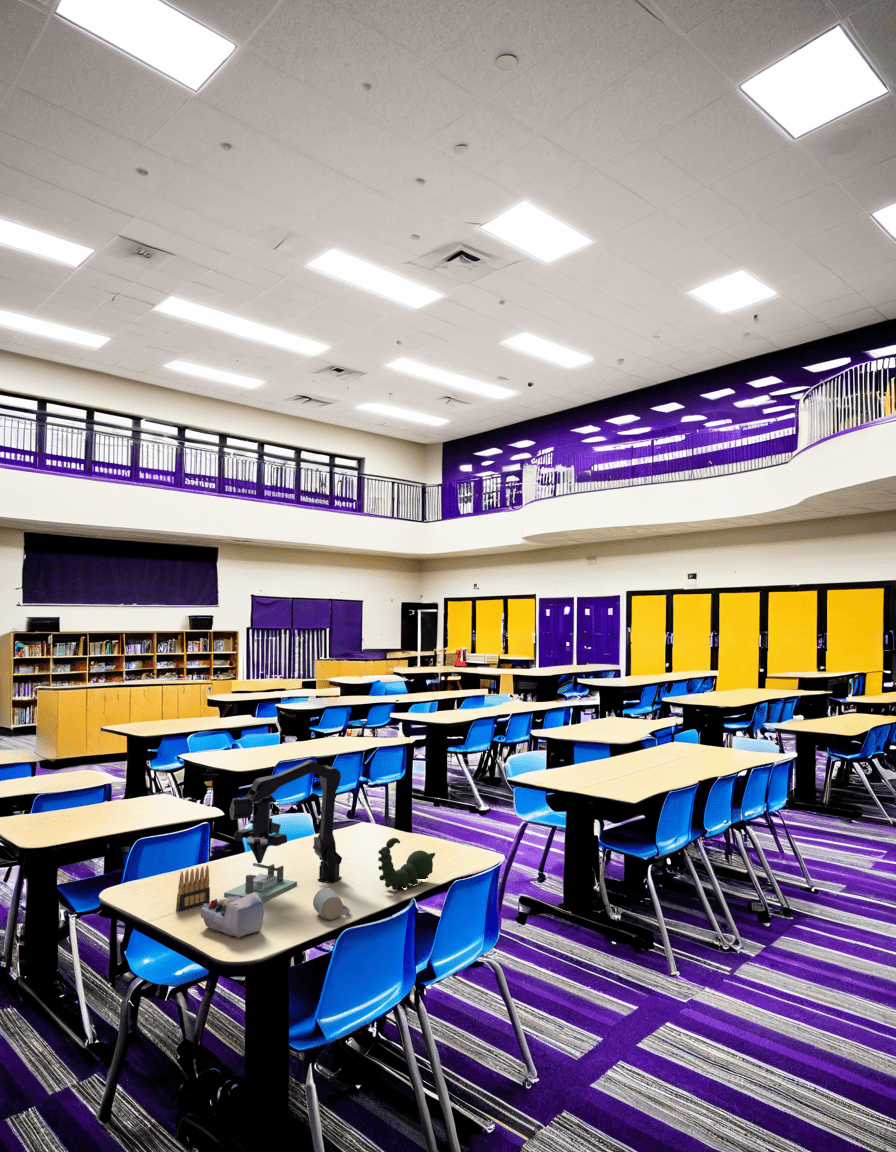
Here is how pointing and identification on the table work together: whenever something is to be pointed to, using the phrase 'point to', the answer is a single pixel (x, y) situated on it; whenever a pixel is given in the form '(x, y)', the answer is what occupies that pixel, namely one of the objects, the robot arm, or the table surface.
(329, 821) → the robot arm
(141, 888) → the table surface
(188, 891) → the ammunition clip
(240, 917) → the cell model
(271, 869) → the strap
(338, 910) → the ceramic mug
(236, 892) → the board
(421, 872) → the toy figurine
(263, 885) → the heatsink
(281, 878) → the pivot mount
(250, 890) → the lug
